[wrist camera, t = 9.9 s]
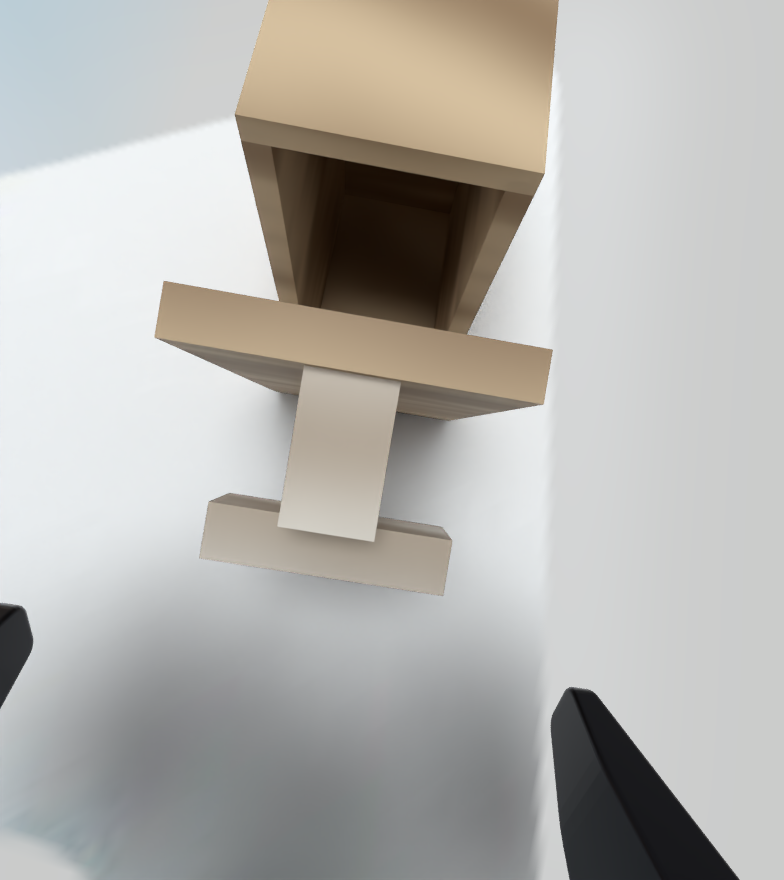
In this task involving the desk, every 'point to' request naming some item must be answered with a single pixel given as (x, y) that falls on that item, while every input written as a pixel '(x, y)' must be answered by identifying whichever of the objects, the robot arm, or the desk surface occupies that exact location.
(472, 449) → the desk surface
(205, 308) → the flap
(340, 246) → the carton
